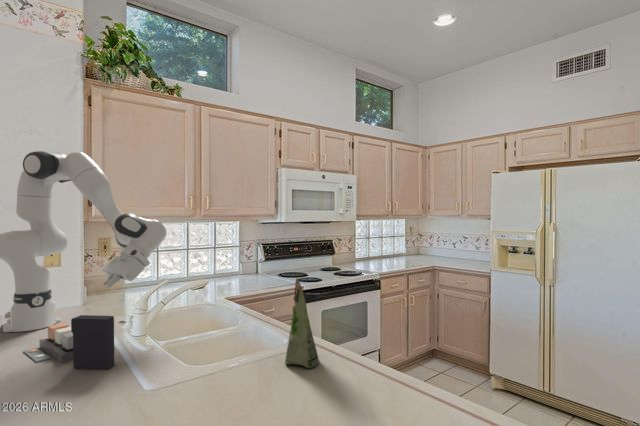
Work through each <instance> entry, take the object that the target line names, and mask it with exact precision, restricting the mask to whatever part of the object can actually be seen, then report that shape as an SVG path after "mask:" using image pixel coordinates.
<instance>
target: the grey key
mask: <svg viewBox="0 0 640 426" xmlns="http://www.w3.org/2000/svg"><path fill="white" fill-rule="evenodd" d="M62 346H63V347H64V348H66V349H72V348H73V333H72V332H71V333H66V334H62Z"/></svg>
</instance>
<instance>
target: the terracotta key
mask: <svg viewBox="0 0 640 426" xmlns="http://www.w3.org/2000/svg"><path fill="white" fill-rule="evenodd" d="M67 327H69V325H68V324H67V323H65V322H61V323H57V324H56V323H55V324H53V325H51V326H48V327H47V338H50V339H52V340H55V330H58V329H62V328H67Z"/></svg>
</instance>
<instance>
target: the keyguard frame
mask: <svg viewBox="0 0 640 426" xmlns="http://www.w3.org/2000/svg"><path fill="white" fill-rule="evenodd" d="M39 349H40V350H42V351H44V353H46V354H47V355H48V354H49V355H50V357H53V358H54V359H55V360H57V361H58V362H59V363H61V364H64V363H68V362H70V361H73V348H72V349H66V348H64V347H63V346H62V344H58V343H56V342H55V340H52V339H50V338H48V337H46V338H42V339H39Z"/></svg>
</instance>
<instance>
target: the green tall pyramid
mask: <svg viewBox="0 0 640 426" xmlns="http://www.w3.org/2000/svg"><path fill="white" fill-rule="evenodd" d="M294 284H295V286H294V296H293V300H294V305H293V306H292V318H291V324H290V325H291V326H290V330H289V337H288V343H287V347H286V355H285V365H297V366H303V367H305V368H307V369H312V368H315V367H316V366H317V365H318V364H319V361H320V358H319V355H318V350H317V346H316V343H315V340H314V337H313V332H312V328H311V322H310V319H309V314H308V313H309V312H308V308H307V307H308V306H307V303H306V298H305V294H304V291H303V287H302V285H301V283H300V279H299V278H298V277H296V278H295V283H294Z"/></svg>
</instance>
